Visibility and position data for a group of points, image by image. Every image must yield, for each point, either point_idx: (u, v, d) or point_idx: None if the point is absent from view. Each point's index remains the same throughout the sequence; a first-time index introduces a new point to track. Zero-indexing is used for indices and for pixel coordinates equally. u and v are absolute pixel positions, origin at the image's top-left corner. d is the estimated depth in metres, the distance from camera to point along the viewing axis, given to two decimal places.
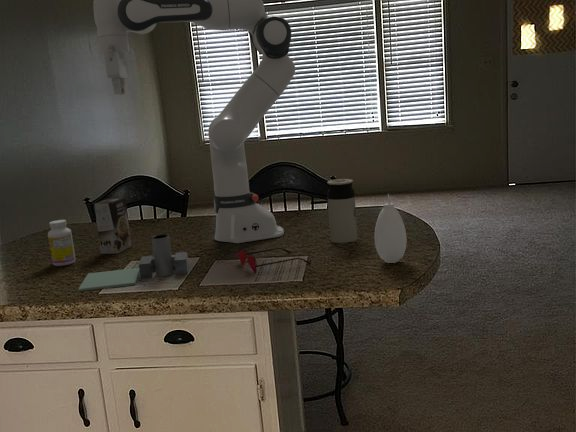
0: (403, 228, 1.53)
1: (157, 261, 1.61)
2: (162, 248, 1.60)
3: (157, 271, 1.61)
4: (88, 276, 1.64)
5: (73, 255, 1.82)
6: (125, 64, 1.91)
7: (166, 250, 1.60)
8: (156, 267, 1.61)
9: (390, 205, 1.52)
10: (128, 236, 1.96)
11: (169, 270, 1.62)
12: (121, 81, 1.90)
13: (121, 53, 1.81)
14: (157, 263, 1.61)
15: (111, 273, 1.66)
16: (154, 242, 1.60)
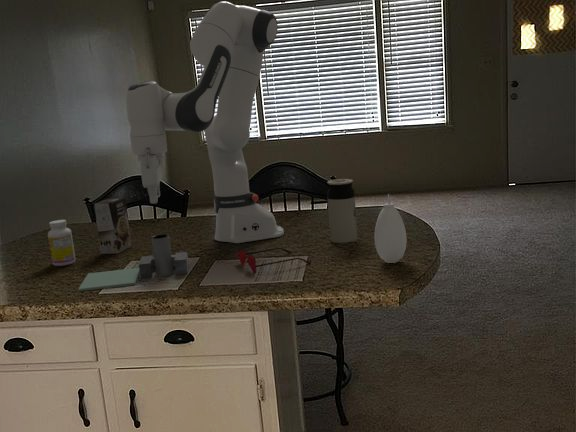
0: (403, 228, 1.53)
1: (157, 261, 1.61)
2: (162, 248, 1.60)
3: (157, 271, 1.61)
4: (88, 276, 1.64)
5: (73, 255, 1.82)
6: (160, 161, 1.65)
7: (166, 250, 1.60)
8: (156, 267, 1.61)
9: (390, 205, 1.52)
10: (128, 236, 1.96)
11: (169, 270, 1.62)
12: None
13: (158, 155, 1.55)
14: (157, 263, 1.61)
15: (111, 273, 1.66)
16: (154, 242, 1.60)
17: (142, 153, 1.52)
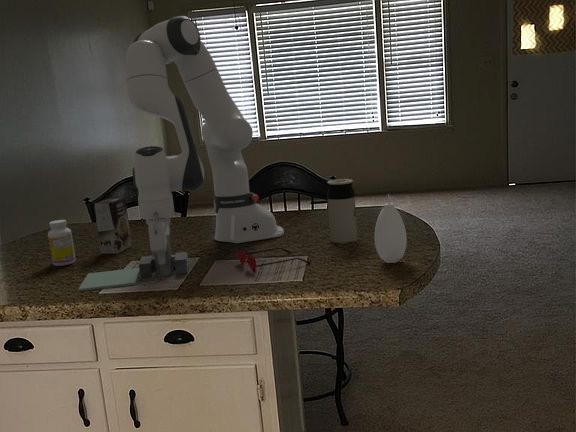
0: (403, 228, 1.53)
1: (157, 261, 1.61)
2: None
3: (157, 271, 1.61)
4: (88, 276, 1.64)
5: (73, 255, 1.82)
6: None
7: (166, 250, 1.60)
8: (156, 267, 1.61)
9: (390, 205, 1.52)
10: (128, 236, 1.96)
11: (169, 270, 1.62)
12: None
13: (165, 218, 1.58)
14: (157, 263, 1.61)
15: (111, 273, 1.66)
16: None
17: (150, 217, 1.56)
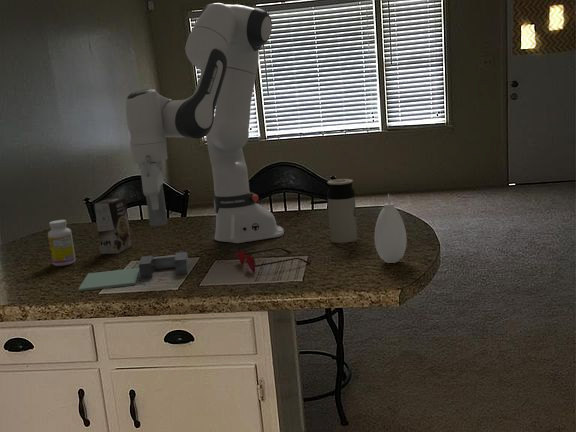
0: (403, 228, 1.53)
1: (150, 211, 1.58)
2: None
3: (151, 221, 1.59)
4: (88, 276, 1.64)
5: (73, 255, 1.82)
6: (161, 168, 1.66)
7: (160, 199, 1.58)
8: (150, 217, 1.59)
9: (390, 205, 1.52)
10: (128, 236, 1.96)
11: (163, 220, 1.59)
12: None
13: (158, 162, 1.56)
14: (150, 213, 1.58)
15: (111, 273, 1.66)
16: None
17: (142, 161, 1.53)
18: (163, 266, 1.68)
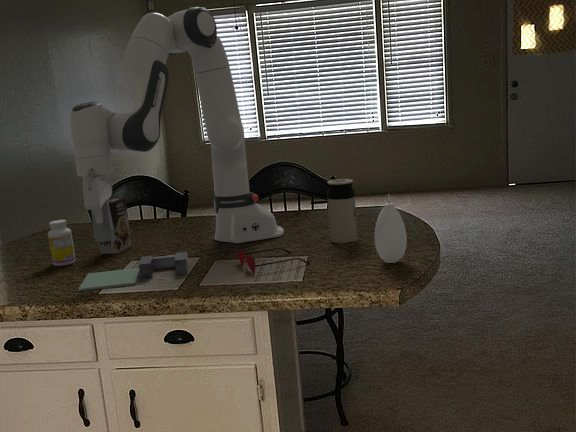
0: (403, 228, 1.53)
1: (95, 226, 1.57)
2: None
3: (96, 237, 1.58)
4: (88, 276, 1.64)
5: (73, 254, 1.82)
6: (109, 181, 1.64)
7: (105, 215, 1.57)
8: (95, 233, 1.58)
9: (390, 205, 1.52)
10: (128, 236, 1.96)
11: (108, 236, 1.58)
12: None
13: (103, 176, 1.54)
14: (95, 228, 1.57)
15: (111, 273, 1.66)
16: None
17: (86, 174, 1.52)
18: (163, 266, 1.68)
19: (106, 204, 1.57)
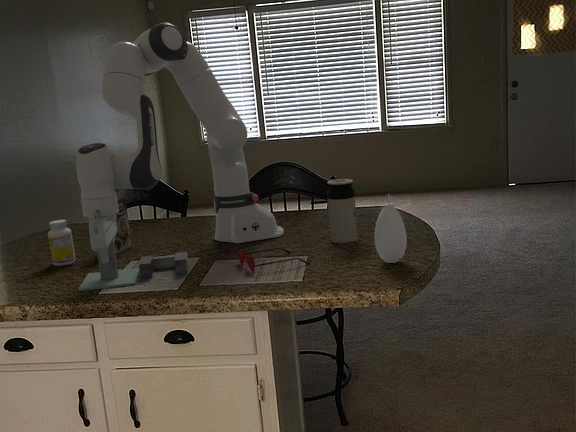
0: (403, 228, 1.53)
1: (101, 265, 1.59)
2: None
3: (101, 275, 1.60)
4: (88, 276, 1.64)
5: (73, 255, 1.82)
6: (114, 219, 1.66)
7: (110, 254, 1.59)
8: (100, 271, 1.60)
9: (390, 205, 1.52)
10: (128, 236, 1.96)
11: (113, 274, 1.60)
12: None
13: (109, 216, 1.56)
14: (101, 267, 1.59)
15: None
16: None
17: (92, 215, 1.54)
18: (163, 266, 1.68)
19: (111, 243, 1.59)
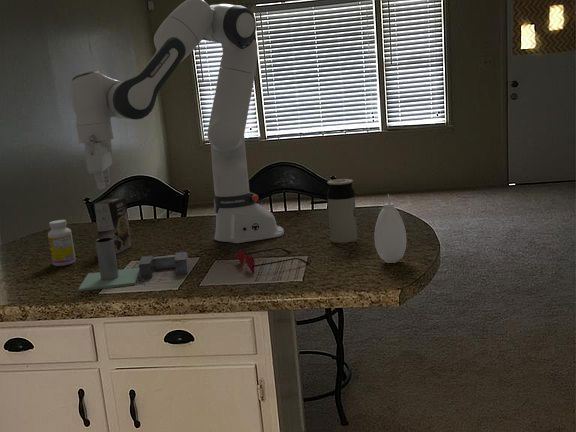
0: (403, 228, 1.53)
1: (101, 265, 1.59)
2: (106, 252, 1.58)
3: (101, 275, 1.60)
4: (88, 276, 1.64)
5: (73, 255, 1.82)
6: (109, 149, 1.70)
7: (110, 254, 1.59)
8: (100, 271, 1.60)
9: (390, 205, 1.52)
10: (128, 236, 1.96)
11: (113, 274, 1.60)
12: (105, 169, 1.69)
13: (104, 142, 1.60)
14: (101, 267, 1.59)
15: None
16: (97, 245, 1.58)
17: (87, 141, 1.58)
18: (163, 266, 1.68)
19: (111, 243, 1.59)
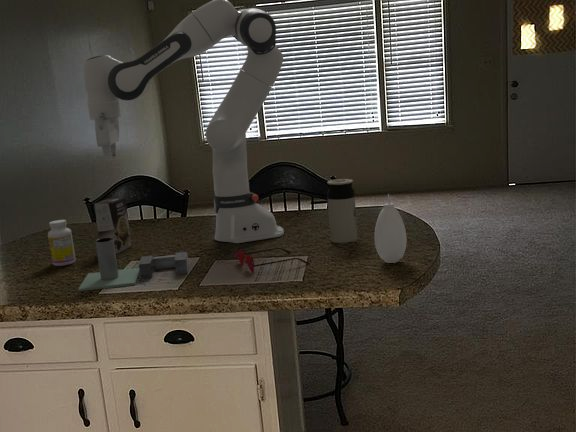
0: (403, 228, 1.53)
1: (101, 265, 1.59)
2: (105, 252, 1.58)
3: (101, 275, 1.60)
4: (88, 276, 1.64)
5: (73, 255, 1.82)
6: (116, 127, 1.89)
7: (110, 254, 1.59)
8: (100, 271, 1.60)
9: (390, 205, 1.52)
10: (128, 236, 1.96)
11: (113, 274, 1.60)
12: (112, 145, 1.87)
13: (112, 119, 1.79)
14: (101, 267, 1.59)
15: None
16: (97, 245, 1.58)
17: (97, 117, 1.76)
18: (163, 266, 1.68)
19: (111, 243, 1.59)
